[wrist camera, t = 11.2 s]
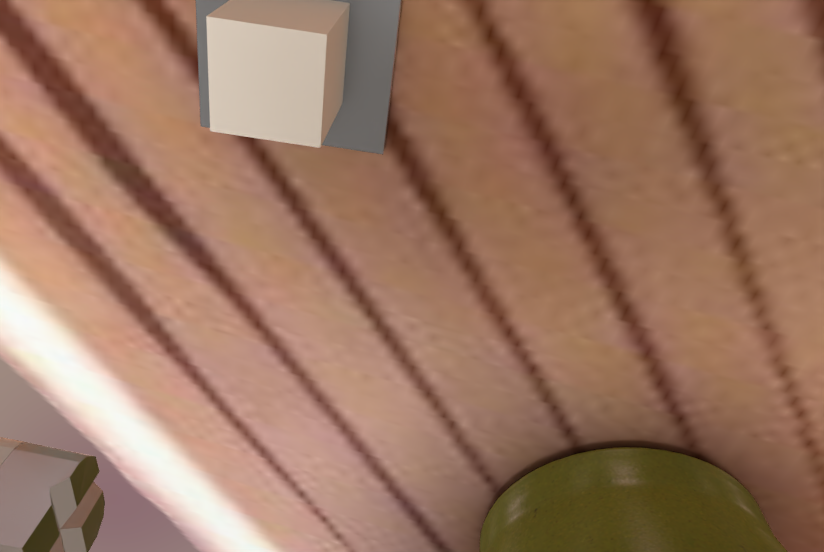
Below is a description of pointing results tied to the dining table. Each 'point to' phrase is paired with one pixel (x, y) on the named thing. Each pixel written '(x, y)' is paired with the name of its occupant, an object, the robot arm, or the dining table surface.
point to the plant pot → (627, 507)
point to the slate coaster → (364, 73)
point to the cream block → (277, 68)
